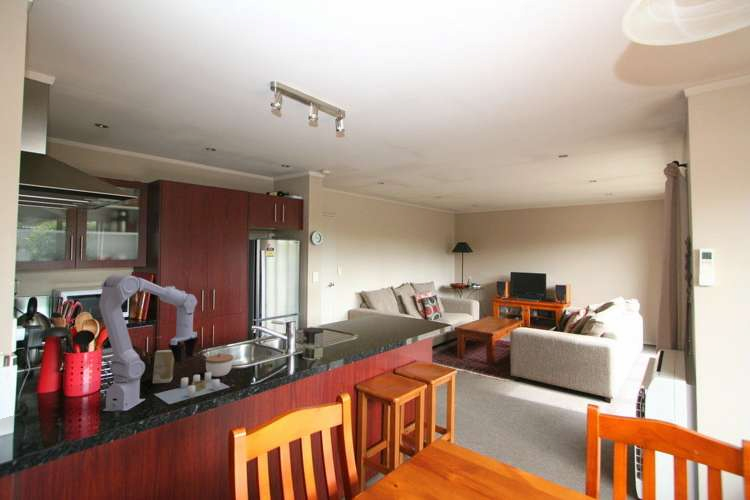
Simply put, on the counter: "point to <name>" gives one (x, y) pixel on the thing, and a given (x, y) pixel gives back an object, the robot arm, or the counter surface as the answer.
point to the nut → (199, 385)
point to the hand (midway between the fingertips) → (183, 359)
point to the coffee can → (312, 343)
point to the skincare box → (163, 366)
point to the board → (184, 393)
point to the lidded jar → (219, 364)
